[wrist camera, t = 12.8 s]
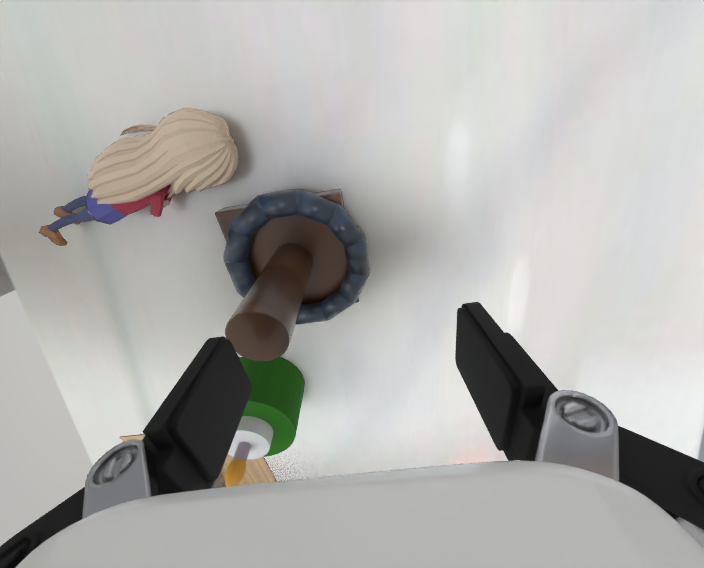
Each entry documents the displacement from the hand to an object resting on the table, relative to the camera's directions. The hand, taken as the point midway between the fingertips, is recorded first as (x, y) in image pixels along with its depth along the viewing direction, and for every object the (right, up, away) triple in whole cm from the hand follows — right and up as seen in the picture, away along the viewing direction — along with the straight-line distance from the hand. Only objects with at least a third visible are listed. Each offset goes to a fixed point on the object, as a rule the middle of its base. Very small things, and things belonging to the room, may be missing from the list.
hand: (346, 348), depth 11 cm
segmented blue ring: (-4, +4, +9) cm, 10 cm away
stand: (-4, +5, +11) cm, 13 cm away
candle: (-9, -8, +18) cm, 22 cm away
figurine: (-14, +10, +8) cm, 19 cm away
